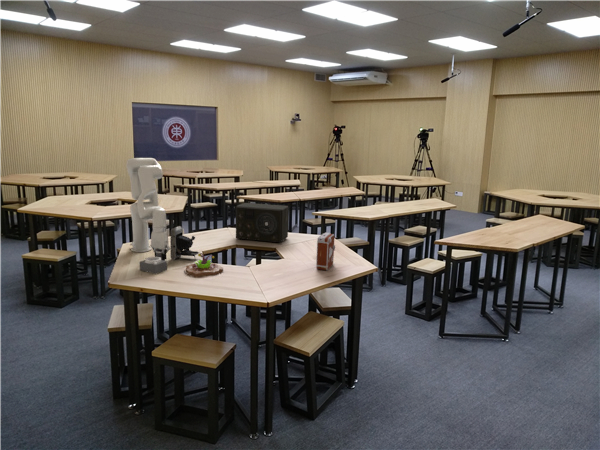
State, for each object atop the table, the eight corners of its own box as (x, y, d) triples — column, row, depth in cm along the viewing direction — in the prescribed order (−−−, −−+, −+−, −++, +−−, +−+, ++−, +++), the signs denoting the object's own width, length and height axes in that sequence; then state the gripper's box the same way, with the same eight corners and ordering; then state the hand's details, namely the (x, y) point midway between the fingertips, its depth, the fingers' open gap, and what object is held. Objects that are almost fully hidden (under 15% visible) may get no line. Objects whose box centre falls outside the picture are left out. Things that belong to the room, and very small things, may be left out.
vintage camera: (193, 262, 270) (194, 230, 266) (169, 259, 273) (170, 227, 269) (199, 258, 279) (200, 227, 275) (177, 255, 282) (177, 224, 278)
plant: (180, 269, 255) (179, 251, 253) (211, 264, 267) (211, 246, 265) (194, 279, 240) (194, 259, 237) (227, 273, 251) (227, 254, 249)
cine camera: (337, 262, 277) (338, 231, 273) (329, 271, 259) (330, 238, 255) (323, 261, 280) (324, 230, 276) (313, 269, 262) (315, 236, 258)
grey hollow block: (139, 270, 251) (139, 259, 250) (151, 266, 259) (151, 255, 258) (155, 273, 246) (155, 262, 245) (167, 269, 254) (166, 258, 253)
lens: (154, 262, 266) (153, 249, 264) (160, 260, 270) (160, 247, 269) (160, 264, 264) (160, 251, 262) (167, 261, 268) (166, 249, 267)
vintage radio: (231, 240, 325) (231, 206, 320) (241, 234, 344) (241, 202, 338) (280, 244, 316) (281, 210, 311) (288, 238, 335) (289, 205, 330)
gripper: (144, 228, 263) (145, 258, 267) (166, 232, 256) (167, 262, 260) (153, 226, 270) (154, 255, 274) (175, 230, 262) (176, 259, 266)
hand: (160, 258), depth 267 cm, fingers closed on lens, 5 cm apart
